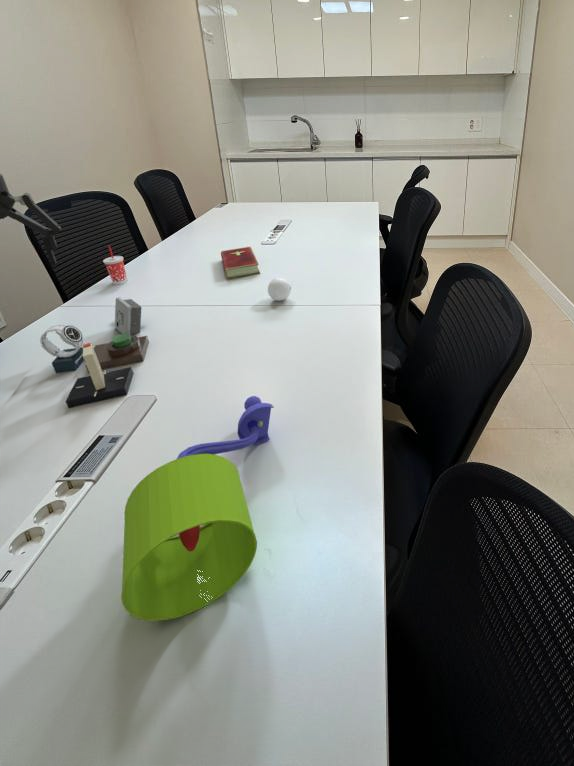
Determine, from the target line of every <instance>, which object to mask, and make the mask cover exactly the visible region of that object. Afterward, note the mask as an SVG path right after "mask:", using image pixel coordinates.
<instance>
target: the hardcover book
mask: <svg viewBox="0 0 574 766" xmlns="http://www.w3.org/2000/svg"><path fill="white" fill-rule="evenodd" d="M220 257H221V261H222V266H223V270H224V274H225V277H226V278H225V279H227V280H232V279H233V280H234V279H237V278H243V277H250V276H253V275H259V274H261V272H260V269H259V262H258V259H257V257H256V255H255V252H254V251H253V248H252V246H245V247H239V248H233V249H227V250H221V251H220Z"/></svg>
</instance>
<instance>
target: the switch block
mask: <svg viewBox="0 0 574 766" xmlns="http://www.w3.org/2000/svg"><path fill="white" fill-rule="evenodd" d="M130 336H131V339H132V342H131V343H130V344H129V345H127V346H124V347H120V348H115V347H114V346H113V343H112V340H111V341H110V342H107V343H101V344H96V345H94V346H93V348H94V351H95V353H96V356H97V359H98V361H99V364H100V367H101V369H102V371H103V370H104V371H105V370H108V369H109V370H110V369H113V368H118V367H122V366H127V365H132V364H133V365H134V364H136V363H141V362H144V361H145V359H146V355H147V351H148V347H149V344H150V340H149V338H148V335H143V336H137V335H136V334H130ZM85 369H86V371H87V373H88V374H90V373H89V371H88V368H87V366H86V364H85Z"/></svg>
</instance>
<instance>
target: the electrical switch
mask: <svg viewBox="0 0 574 766" xmlns="http://www.w3.org/2000/svg"><path fill="white" fill-rule="evenodd" d="M114 305H115V306H114V328H115V329H116V330H117V331H118V332H119V333H120V334H130V335H136V334H139V333H141V325H142V306H141V305H140V304H139V303H137V302H136V301H134V300H133V299H132V298H129V299H123V298H122V297H120V296H119V297H115V304H114Z"/></svg>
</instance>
